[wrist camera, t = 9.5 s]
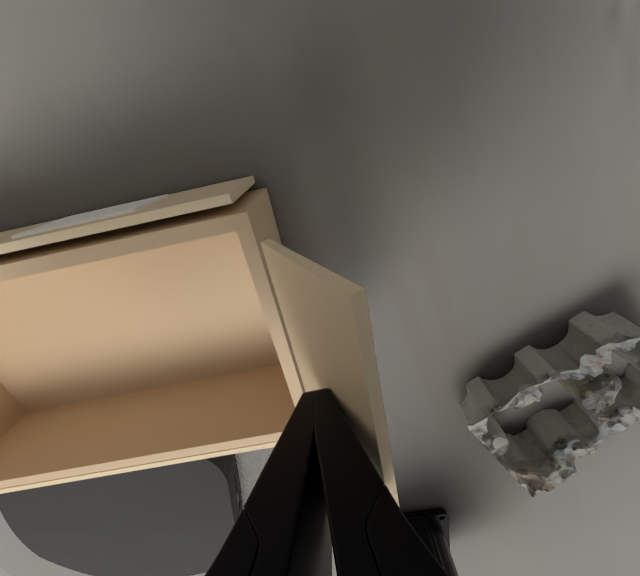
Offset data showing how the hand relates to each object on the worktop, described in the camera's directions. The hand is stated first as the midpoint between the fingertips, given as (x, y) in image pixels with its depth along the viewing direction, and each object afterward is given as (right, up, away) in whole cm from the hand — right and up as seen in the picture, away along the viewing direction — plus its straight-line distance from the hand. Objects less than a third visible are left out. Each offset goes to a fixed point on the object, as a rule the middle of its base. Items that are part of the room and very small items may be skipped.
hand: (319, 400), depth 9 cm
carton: (-10, +2, +8) cm, 13 cm away
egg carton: (+14, -2, +11) cm, 18 cm away
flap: (-1, +1, +2) cm, 3 cm away
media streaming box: (-13, -12, +15) cm, 23 cm away
